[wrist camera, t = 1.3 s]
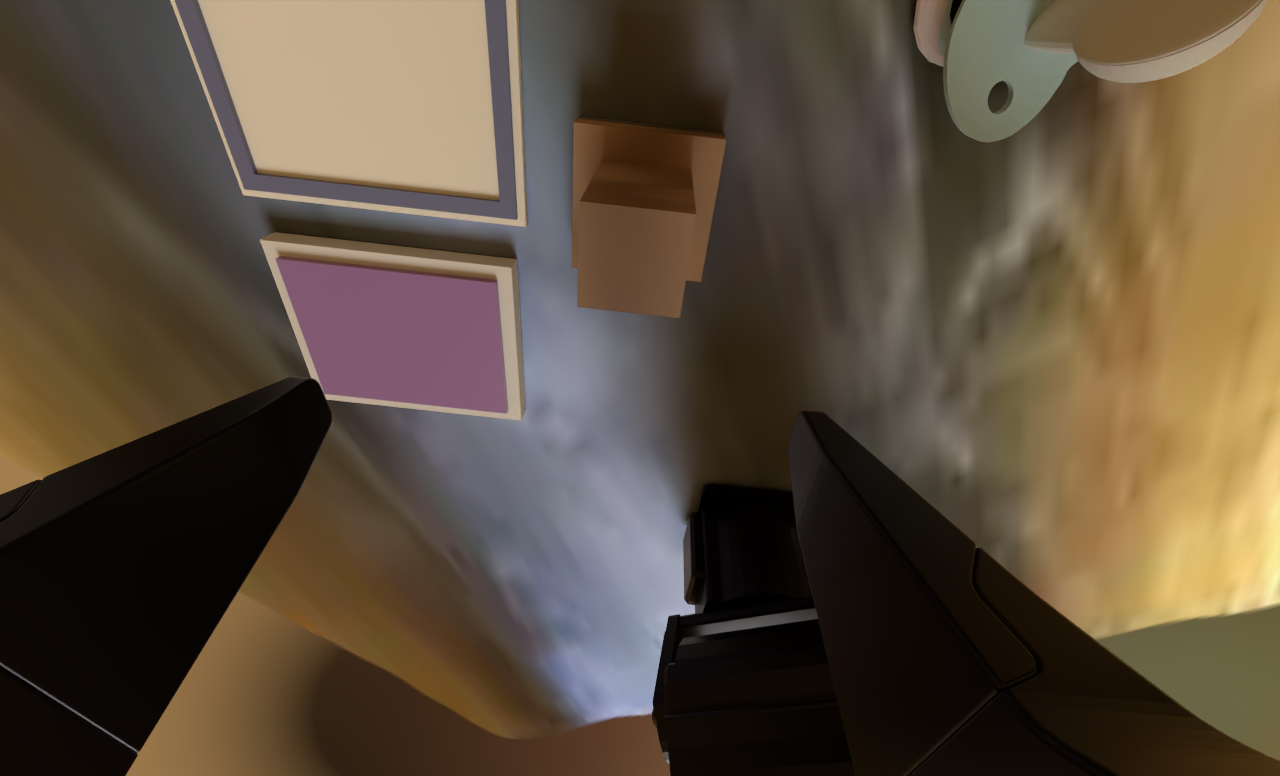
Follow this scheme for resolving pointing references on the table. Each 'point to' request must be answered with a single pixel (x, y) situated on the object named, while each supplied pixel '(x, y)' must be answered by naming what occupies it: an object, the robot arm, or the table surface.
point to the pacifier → (1064, 48)
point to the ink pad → (404, 323)
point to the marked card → (368, 101)
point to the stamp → (641, 212)
